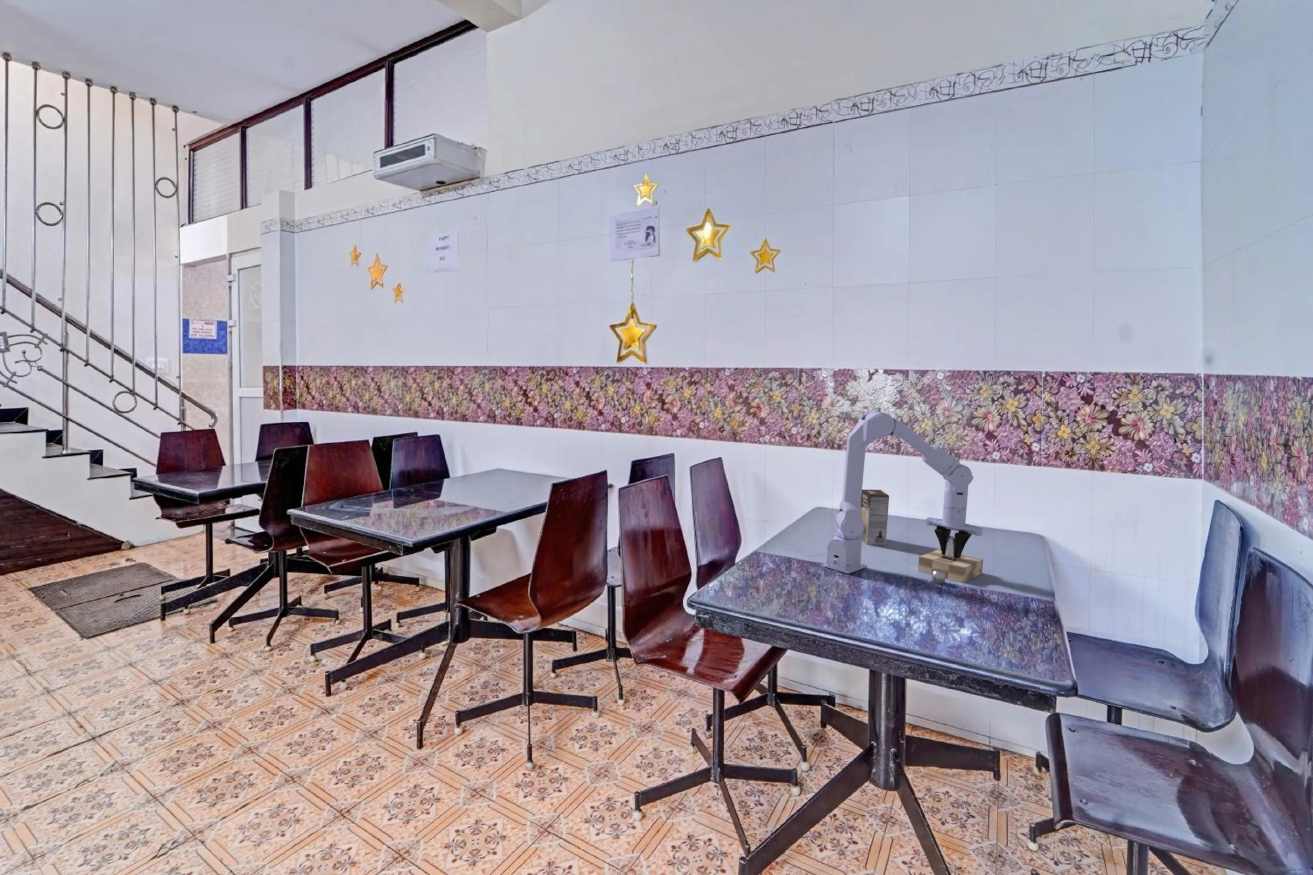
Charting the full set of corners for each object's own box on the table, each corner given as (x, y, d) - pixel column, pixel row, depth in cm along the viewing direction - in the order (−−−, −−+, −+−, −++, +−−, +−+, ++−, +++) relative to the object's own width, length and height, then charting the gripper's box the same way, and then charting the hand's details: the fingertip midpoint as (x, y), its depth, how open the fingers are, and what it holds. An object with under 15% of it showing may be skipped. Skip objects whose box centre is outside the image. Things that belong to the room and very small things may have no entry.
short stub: (941, 585, 161) (942, 574, 160) (929, 582, 163) (930, 571, 163) (946, 583, 163) (947, 571, 162) (935, 579, 165) (936, 568, 164)
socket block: (962, 582, 163) (963, 567, 162) (918, 570, 172) (919, 556, 172) (981, 573, 171) (983, 559, 170) (938, 562, 180) (939, 548, 179)
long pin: (952, 568, 169) (954, 539, 168) (941, 565, 171) (944, 536, 170) (958, 566, 171) (960, 537, 170) (947, 563, 173) (950, 535, 172)
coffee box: (857, 536, 206) (860, 488, 204) (877, 537, 206) (880, 489, 204) (866, 544, 197) (869, 494, 195) (887, 545, 196) (890, 495, 195)
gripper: (989, 510, 166) (985, 559, 168) (935, 500, 177) (932, 547, 179) (977, 513, 162) (973, 564, 163) (923, 503, 173) (920, 551, 174)
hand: (951, 555), depth 171 cm, fingers closed on long pin, 3 cm apart
